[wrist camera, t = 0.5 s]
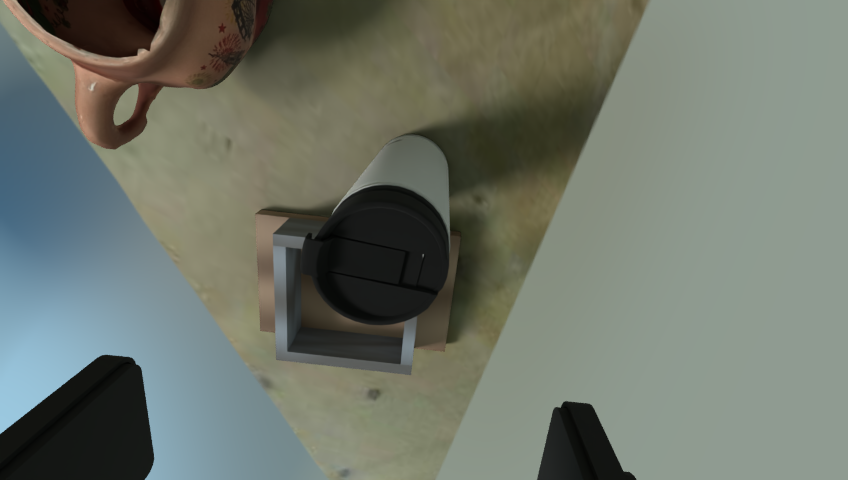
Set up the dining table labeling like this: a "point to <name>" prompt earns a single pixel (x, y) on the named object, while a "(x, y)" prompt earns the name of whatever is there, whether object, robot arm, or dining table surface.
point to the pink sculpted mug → (141, 50)
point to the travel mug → (386, 237)
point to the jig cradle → (322, 326)
